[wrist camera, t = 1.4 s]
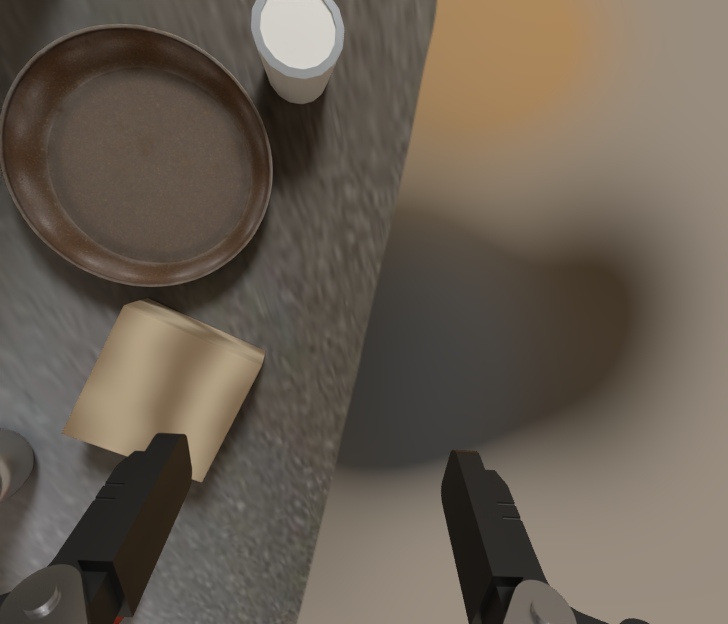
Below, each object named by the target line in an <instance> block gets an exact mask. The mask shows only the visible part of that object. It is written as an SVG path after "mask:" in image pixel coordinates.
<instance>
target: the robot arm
mask: <svg viewBox="0 0 728 624" xmlns="http://www.w3.org/2000/svg"><path fill="white" fill-rule="evenodd" d="M191 479H192V464H191V458H190V451H189V445H188V439H187V436H186V434H176V433H157V434H156V435H155V436H154V437H153V439H152V440H151V442H150V444H149V445H148V447H147V449H146V450H145V451H134V452H132V453H131V454H130V455H129V456H128V457H126V458H125V459H124V460H123V461H122V462H120V463H119V464H118V465H117V466H116V468H115V469H114V471H113V472H112V474H111V475H110V477H109V478H108V480H107V481H106V484H105V486H103V487H102V488H101V490H100V491H99V493H98V494H97V496H96V499H95V501H93V502H92V503H91V505H90V506H89V508H88V509H87V511H86V512H85V514H84V515H83V517H82V518H81V520H80V521H79V523H78V524H77V525H76V527H75V528H74V530H73V531H72V533H71V534H70V536H69V537H68V539H67V540H66V542H65V543H64V545H63V546H62V548H61V549H60V551H59V552H58V554H57V555H56V557H55V558H54V559H53V560H52V562H51V563H50V564H49V565H48V566H47V567H46V568H43V569H41V570H39V571H37V572H35V573H33V574H32V575H30V576H29V577H27V578H26V579H24V580H23V581H22V582H21V583H19V584H18V585H17V586H16V587H15V588H14V589H13V590H12V591H11V592H9V593H6V594H3V595H0V624H114V621H115V619H116V617H133V615H134V613H135V611H136V608H137V606H138V604H139V602H140V599H141V597H142V595H143V592H144V590H145V588H146V586H147V583H148V581H149V579H150V577H151V574H152V572H153V570H154V568H155V565H156V563H157V561H158V558H159V556H160V554H161V552H162V549H163V547H164V545H165V543H166V540H167V538H168V536H169V534H170V531H171V529H172V527H173V524H174V522H175V520H176V518H177V515H178V513H179V511H180V509H181V506H182V504H183V502H184V500H185V497H186V495H187V493H188V490H189V487H190V484H191ZM441 497H442V505H443V509H444V514H445V518H446V523H447V527H448V532H449V536H450V540H451V545H452V550H453V554H454V559H455V563H456V567H457V572H458V577H459V581H460V586H461V590H462V594H463V599H464V604H465V608H466V613H467V617H468V621H469V624H608V623H606V622H603V621H600V620H598V619H595V618H593V617H590V616H588V615H585V614H583V613H581V612H578V611H576V610H575V609H573V608H572V607H570V606H569V605H568V603H567V602H566V600H565V599H564V598H563V597H562V596H561V595H560V594H559V593H558V592H557V591H556V590H555V589H553V588H552V587H551V586H550V585H549V584H548V582H547V580H546V578H545V576H544V574H543V571H542V569H541V566H540V564H539V562H538V559H537V557H536V554H535V552H534V550H533V547H532V545H531V542H530V540H529V537H528V535H527V532H526V530H525V527H524V525H523V522H522V521H521V520H520V515H519V513H518V510H517V508H516V506H515V505H514V500H513V498H512V496H511V493H510V491H509V488H508V486H507V484H506V483H505V482H504V481H503V480H502V478H501V477H500V476H499V475H498V474H497V472H496V471H495V470H485V468H484V466H483V463H482V460H481V457H480V455H479V453H478V452H477V451H465V450H452V451H451V453H450V456H449V460H448V463H447V467H446V470H445V474H444V477H443V481H442V486H441ZM620 624H649V623H647V622H645V621H642V620H639V619H634V618H633V619H626V620H624V621H622V622H621V623H620Z"/></svg>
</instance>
